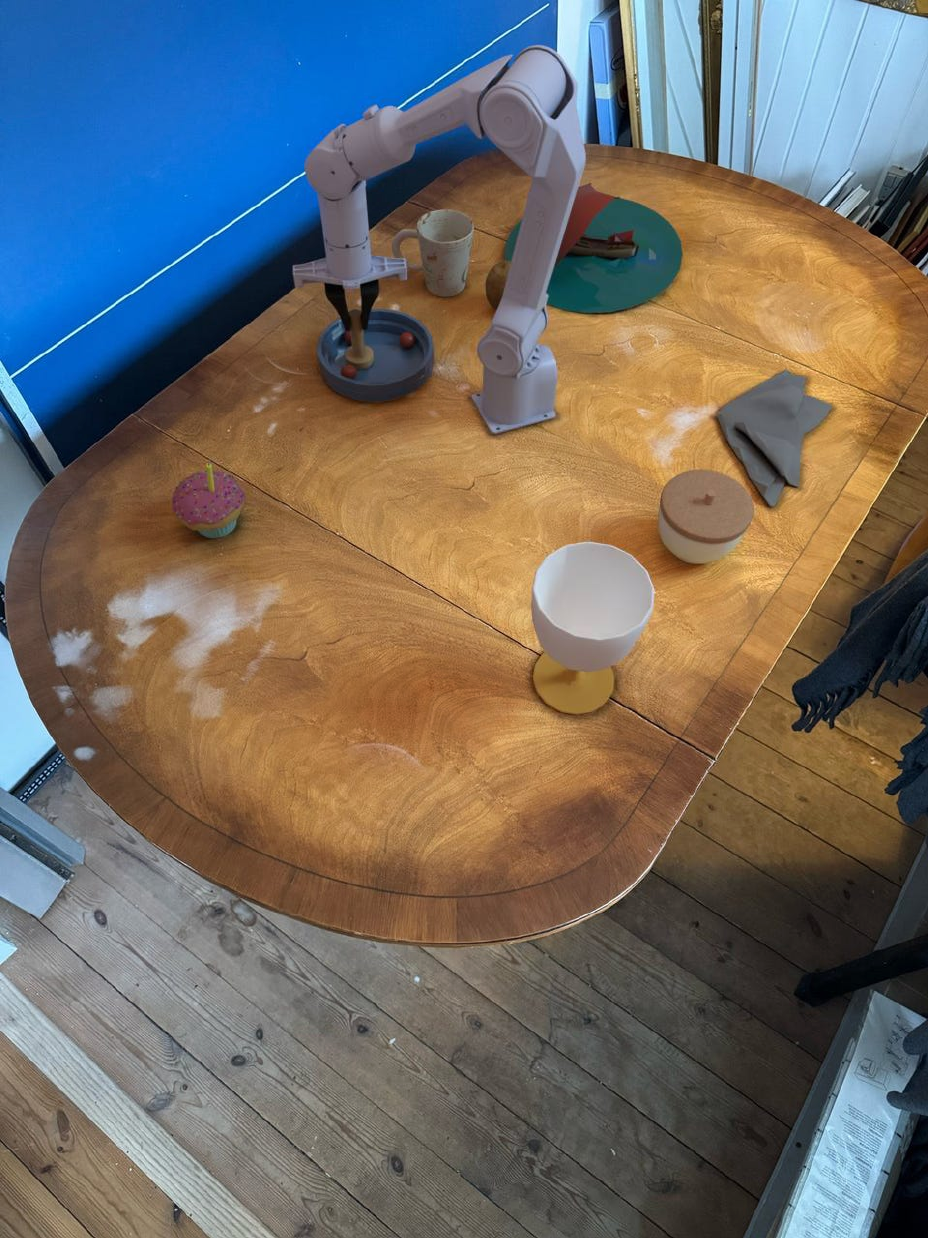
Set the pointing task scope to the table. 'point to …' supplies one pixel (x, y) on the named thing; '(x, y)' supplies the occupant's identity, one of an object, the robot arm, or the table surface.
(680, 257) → the toy sailboat
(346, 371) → the bead
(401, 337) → the bead
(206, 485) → the cupcake
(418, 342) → the bowl
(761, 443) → the cloth
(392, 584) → the table surface
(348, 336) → the bead
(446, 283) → the mug
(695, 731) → the table surface
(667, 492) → the trinket box
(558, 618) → the cup
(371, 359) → the pestle
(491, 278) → the fruit
